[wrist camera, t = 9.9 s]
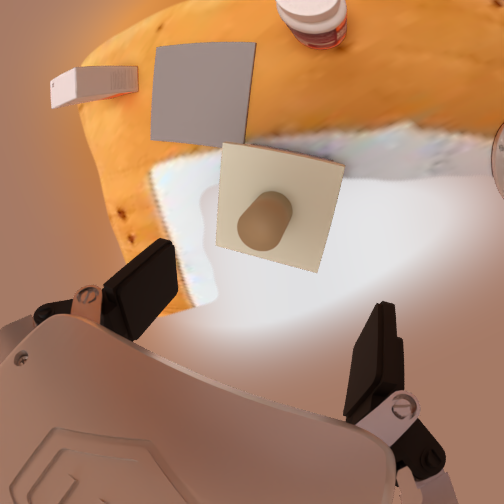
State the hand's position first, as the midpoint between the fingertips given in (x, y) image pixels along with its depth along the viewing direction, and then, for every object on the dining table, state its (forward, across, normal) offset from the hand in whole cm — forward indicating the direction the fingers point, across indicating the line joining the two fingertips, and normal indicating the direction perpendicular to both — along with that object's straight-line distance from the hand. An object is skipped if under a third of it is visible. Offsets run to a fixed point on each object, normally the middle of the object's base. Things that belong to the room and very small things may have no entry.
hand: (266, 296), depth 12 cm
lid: (+17, +4, +3) cm, 18 cm away
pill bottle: (+24, +3, -18) cm, 30 cm away
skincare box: (+23, +30, -10) cm, 39 cm away
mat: (+23, +17, -8) cm, 30 cm away
